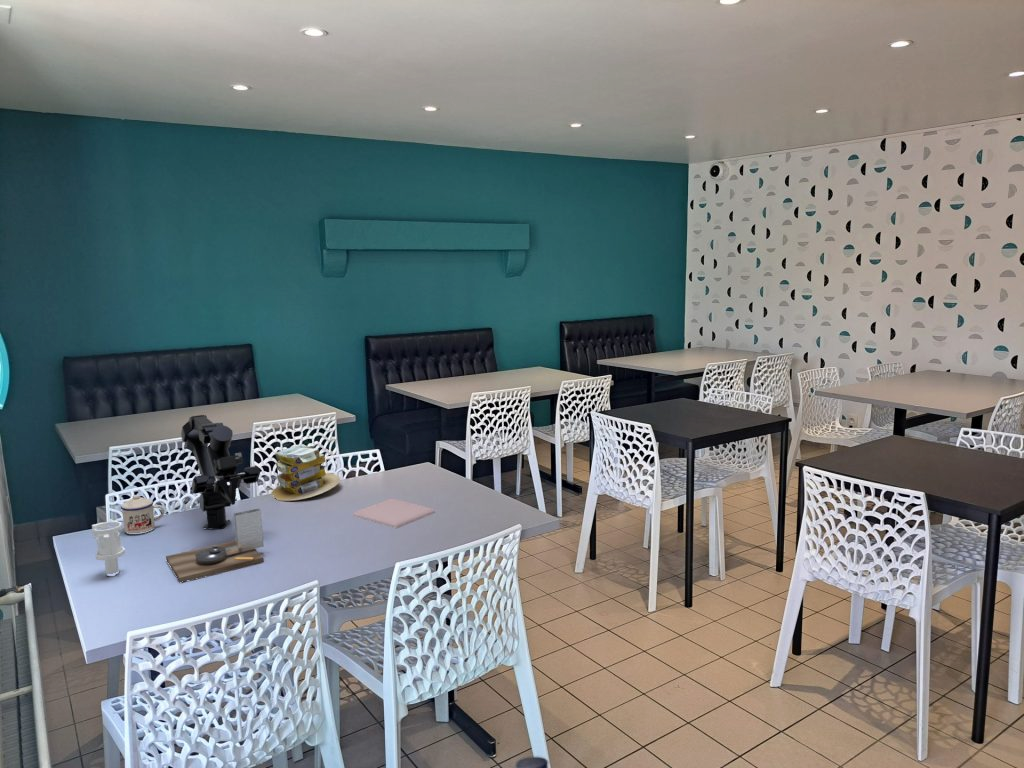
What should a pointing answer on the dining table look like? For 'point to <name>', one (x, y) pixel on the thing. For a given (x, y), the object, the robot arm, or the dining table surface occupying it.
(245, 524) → the lever
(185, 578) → the walnut stand plate
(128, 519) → the teacup with lid
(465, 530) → the dining table surface
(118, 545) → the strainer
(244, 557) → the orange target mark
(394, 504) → the panel
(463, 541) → the dining table surface
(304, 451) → the stacked boxes on plate
